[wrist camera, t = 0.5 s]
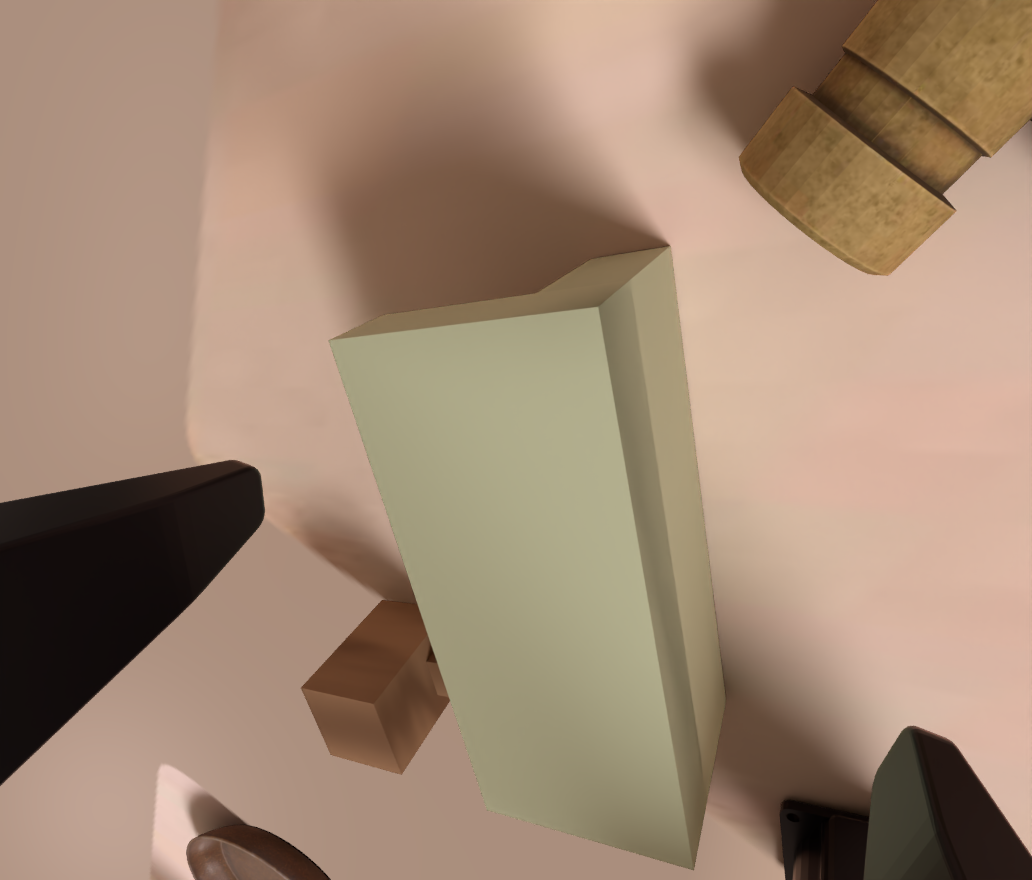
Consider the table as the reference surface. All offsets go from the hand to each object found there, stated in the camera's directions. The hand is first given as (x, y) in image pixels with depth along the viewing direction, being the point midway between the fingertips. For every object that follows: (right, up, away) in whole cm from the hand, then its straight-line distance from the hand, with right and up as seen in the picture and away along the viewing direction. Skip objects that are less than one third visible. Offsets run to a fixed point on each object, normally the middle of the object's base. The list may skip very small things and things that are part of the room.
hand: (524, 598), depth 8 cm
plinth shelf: (+3, 0, +16) cm, 16 cm away
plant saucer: (-20, -36, +47) cm, 62 cm away
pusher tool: (-1, -8, +21) cm, 23 cm away
